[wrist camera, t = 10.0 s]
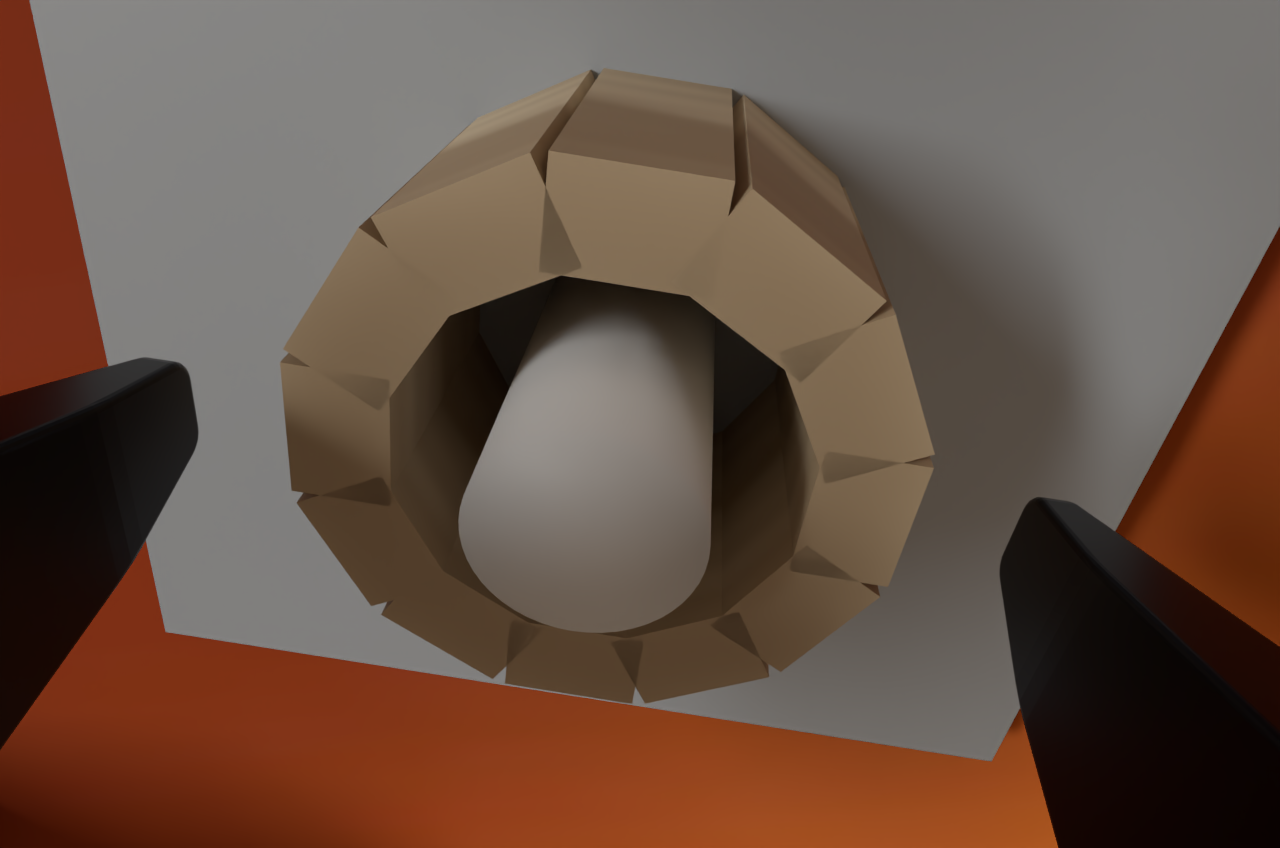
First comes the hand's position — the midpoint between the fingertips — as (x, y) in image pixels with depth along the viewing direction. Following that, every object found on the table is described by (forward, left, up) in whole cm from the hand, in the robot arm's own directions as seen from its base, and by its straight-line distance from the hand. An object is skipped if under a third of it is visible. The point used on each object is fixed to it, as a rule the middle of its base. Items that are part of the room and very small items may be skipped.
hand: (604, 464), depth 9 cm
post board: (0, 0, -5) cm, 5 cm away
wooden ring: (0, 0, -4) cm, 4 cm away
